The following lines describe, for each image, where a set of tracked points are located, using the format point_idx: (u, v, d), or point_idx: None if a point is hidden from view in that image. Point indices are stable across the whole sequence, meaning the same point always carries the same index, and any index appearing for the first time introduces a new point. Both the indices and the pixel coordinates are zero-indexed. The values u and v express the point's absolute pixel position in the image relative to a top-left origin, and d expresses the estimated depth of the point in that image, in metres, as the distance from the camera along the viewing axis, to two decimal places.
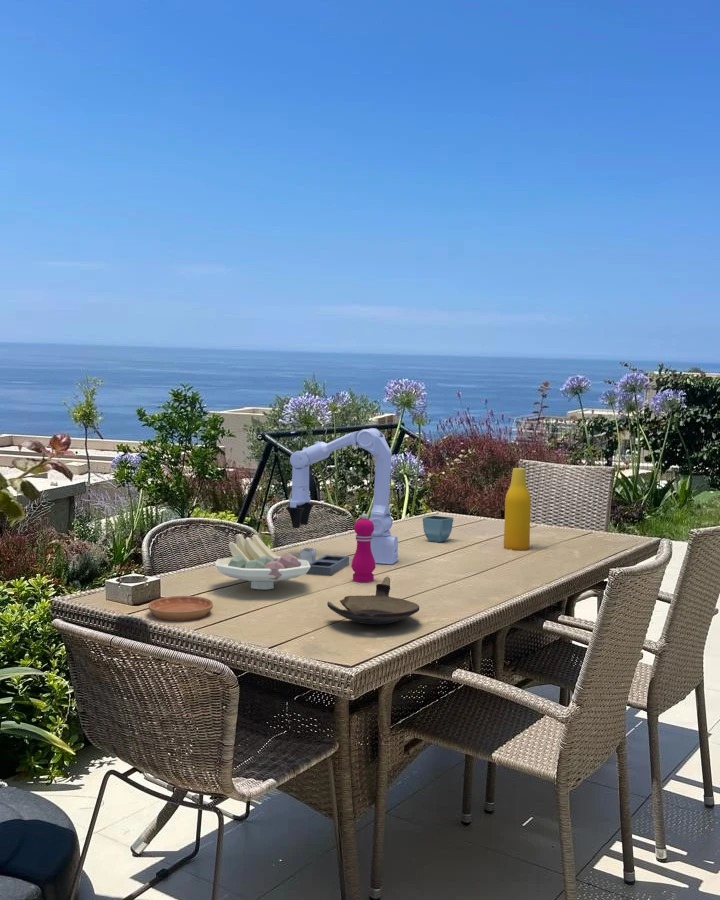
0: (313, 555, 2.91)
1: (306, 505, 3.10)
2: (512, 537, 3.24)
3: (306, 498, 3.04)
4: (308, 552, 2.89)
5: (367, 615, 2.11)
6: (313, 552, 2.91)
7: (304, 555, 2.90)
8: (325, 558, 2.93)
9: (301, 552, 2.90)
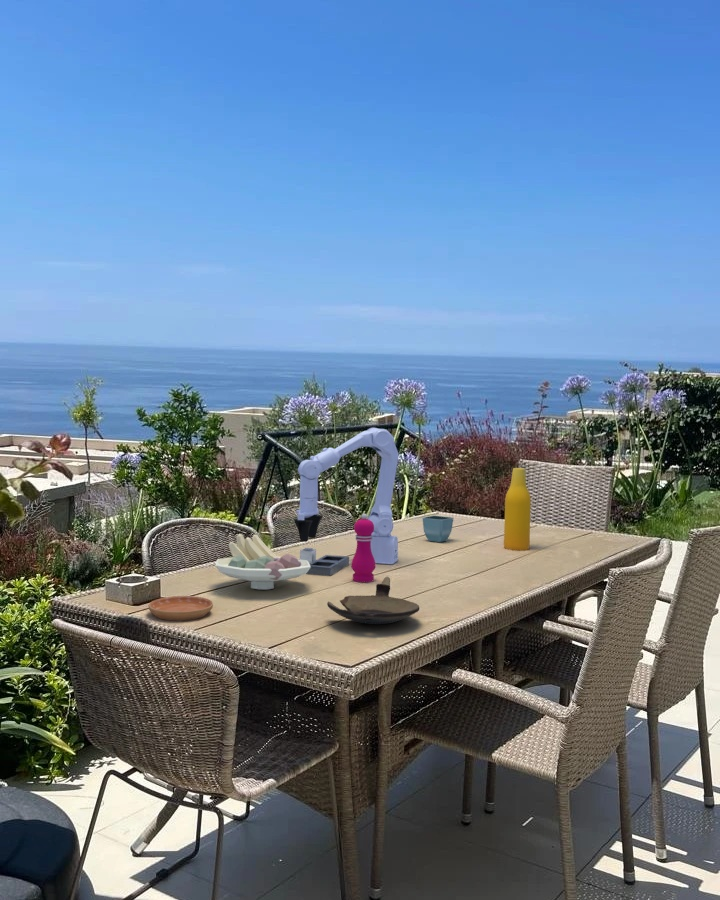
0: (313, 555, 2.91)
1: (314, 517, 2.94)
2: (512, 537, 3.24)
3: (314, 510, 2.89)
4: (308, 552, 2.89)
5: (367, 615, 2.11)
6: (313, 552, 2.91)
7: (304, 555, 2.90)
8: (325, 558, 2.93)
9: (301, 552, 2.90)
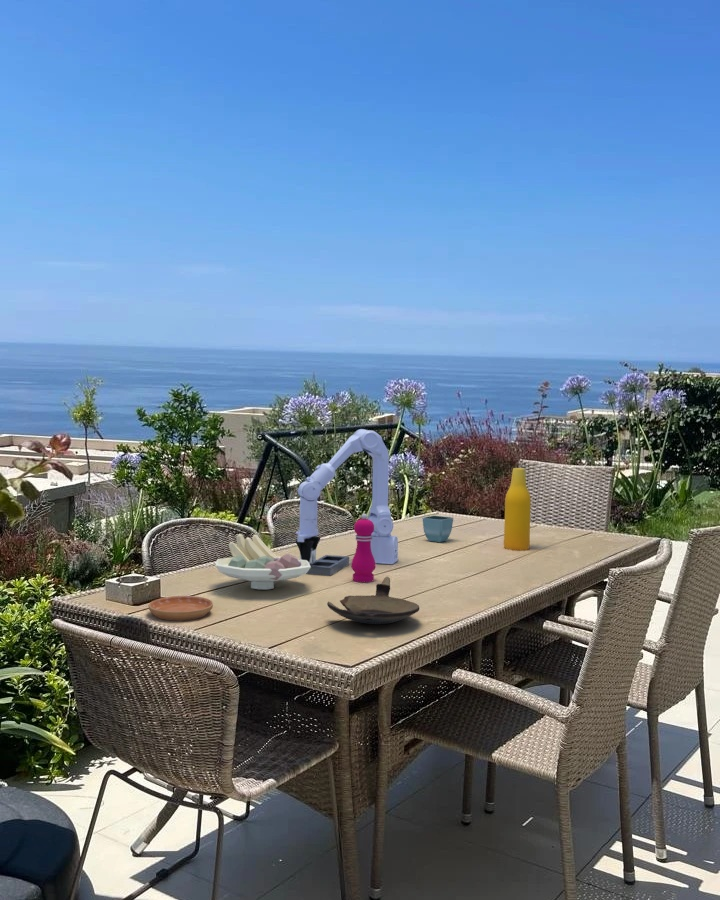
0: (313, 555, 2.91)
1: (313, 539, 2.93)
2: (512, 537, 3.24)
3: (314, 531, 2.89)
4: None
5: (367, 615, 2.11)
6: (313, 552, 2.91)
7: None
8: (325, 558, 2.93)
9: None
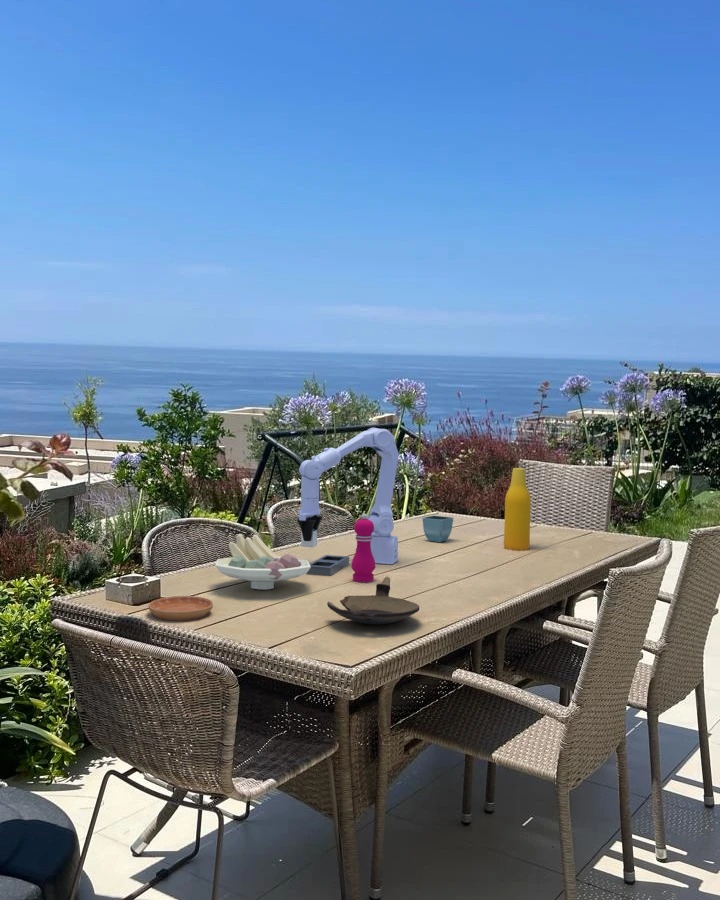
0: (314, 535, 2.89)
1: (314, 518, 2.92)
2: (512, 537, 3.24)
3: (316, 510, 2.88)
4: None
5: (367, 615, 2.11)
6: (314, 532, 2.89)
7: None
8: (325, 558, 2.93)
9: None
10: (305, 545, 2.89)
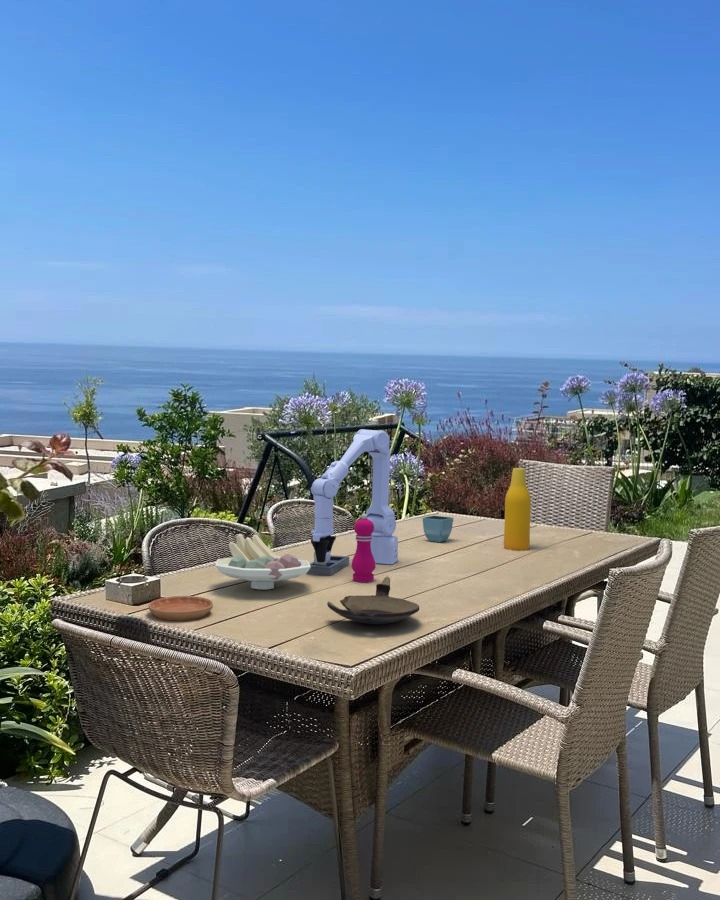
0: (327, 557, 2.80)
1: (328, 538, 2.83)
2: (512, 537, 3.24)
3: (330, 530, 2.79)
4: None
5: (367, 615, 2.11)
6: (327, 553, 2.80)
7: None
8: None
9: None
10: None
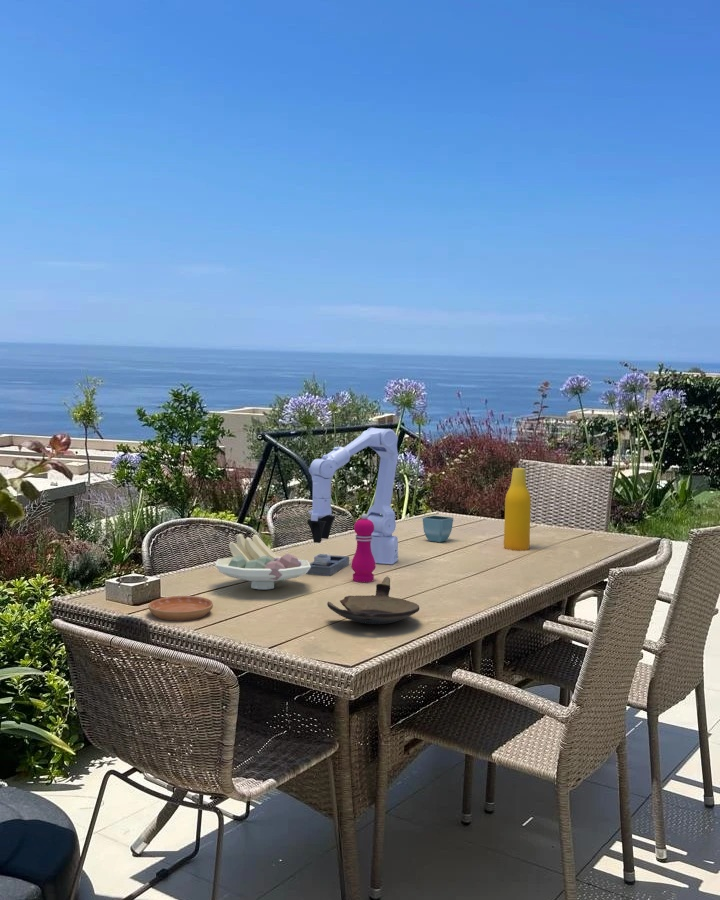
0: (328, 561, 2.81)
1: (327, 518, 2.86)
2: (512, 537, 3.24)
3: (328, 510, 2.81)
4: (322, 558, 2.79)
5: (367, 615, 2.11)
6: (328, 558, 2.80)
7: (318, 562, 2.80)
8: None
9: (315, 558, 2.80)
10: None
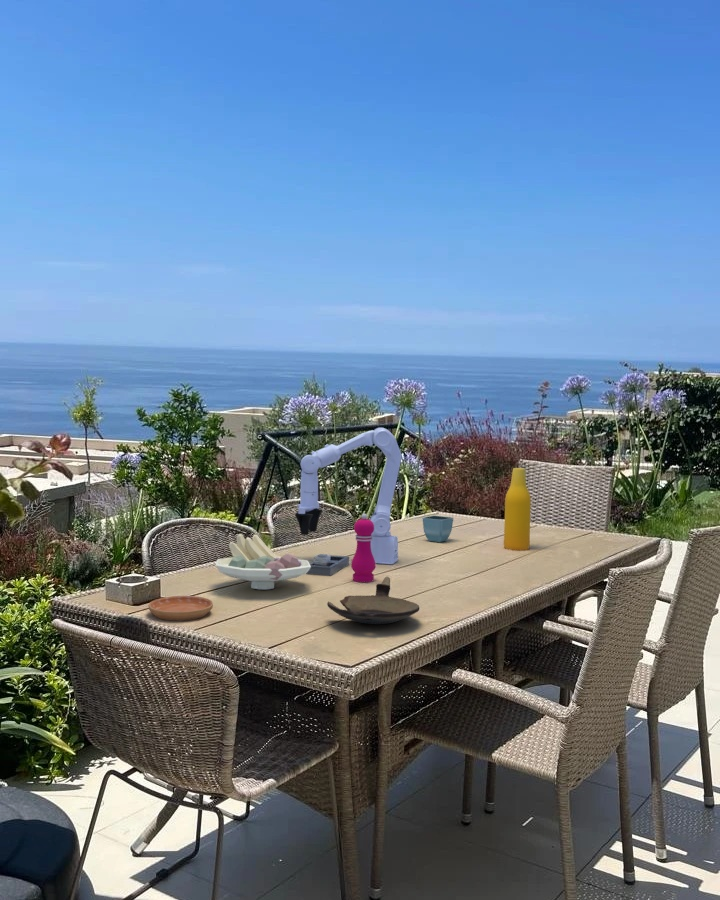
0: (328, 561, 2.81)
1: (315, 511, 3.00)
2: (512, 537, 3.24)
3: (315, 504, 2.95)
4: (322, 558, 2.79)
5: (367, 615, 2.11)
6: (328, 558, 2.80)
7: (318, 562, 2.80)
8: None
9: (315, 558, 2.80)
10: None
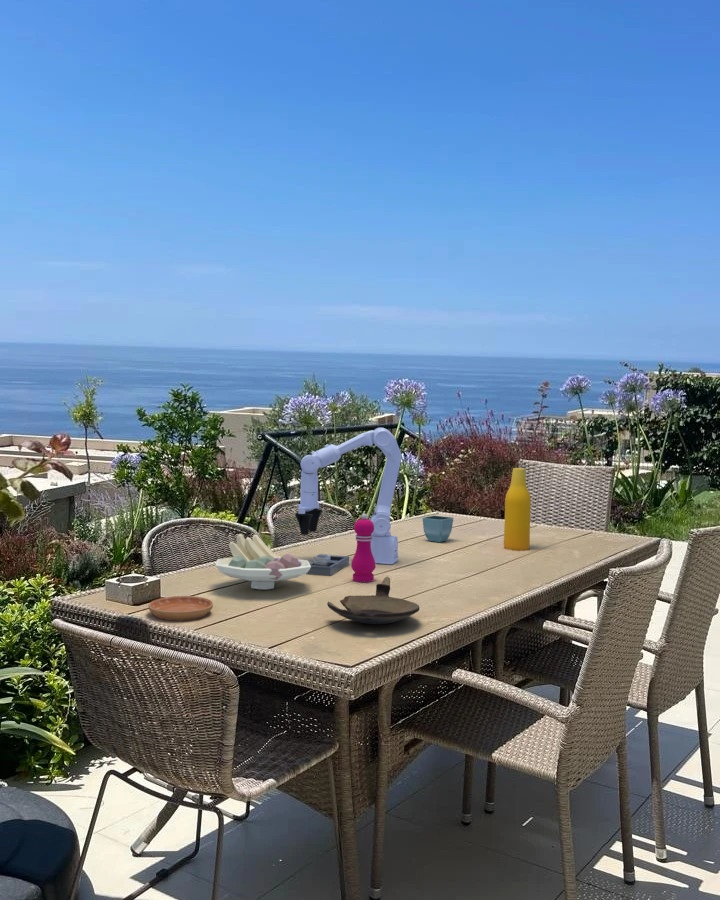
0: (328, 561, 2.81)
1: (315, 511, 3.00)
2: (512, 537, 3.24)
3: (315, 504, 2.95)
4: (322, 558, 2.79)
5: (367, 615, 2.11)
6: (328, 558, 2.80)
7: (318, 562, 2.80)
8: None
9: (315, 558, 2.80)
10: None
